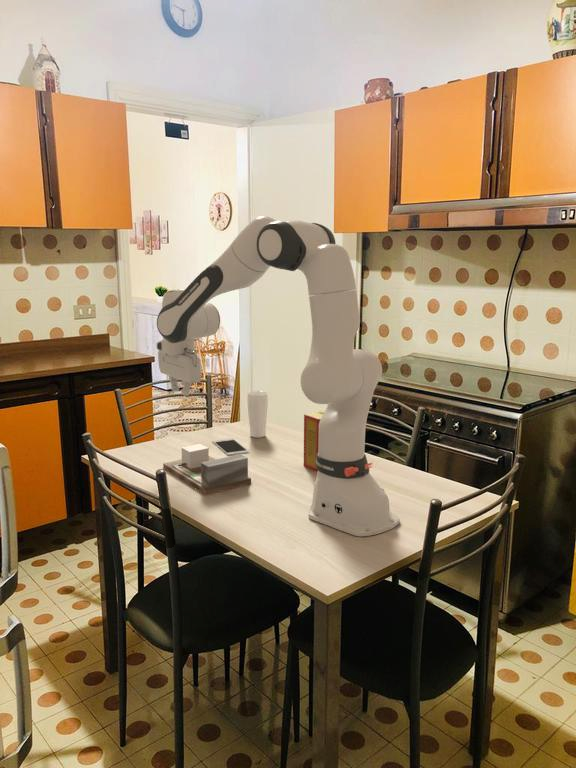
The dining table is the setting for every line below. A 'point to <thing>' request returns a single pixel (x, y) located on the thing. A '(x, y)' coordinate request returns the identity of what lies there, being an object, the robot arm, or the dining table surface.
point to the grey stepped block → (213, 473)
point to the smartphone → (230, 447)
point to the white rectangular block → (194, 455)
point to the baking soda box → (311, 438)
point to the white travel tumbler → (257, 413)
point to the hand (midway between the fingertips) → (180, 393)
